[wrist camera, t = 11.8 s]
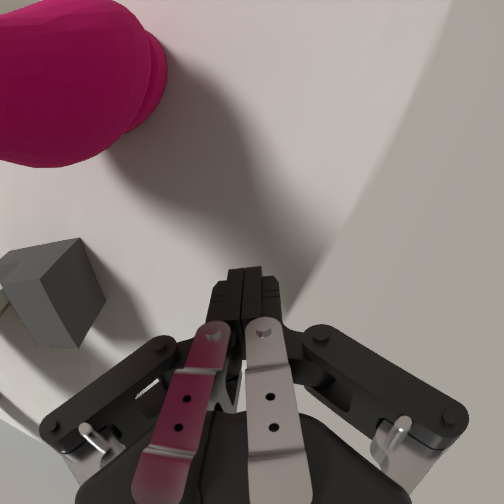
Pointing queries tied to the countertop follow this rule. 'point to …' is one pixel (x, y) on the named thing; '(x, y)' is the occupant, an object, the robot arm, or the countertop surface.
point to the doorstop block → (53, 291)
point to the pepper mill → (74, 80)
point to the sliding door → (3, 298)
